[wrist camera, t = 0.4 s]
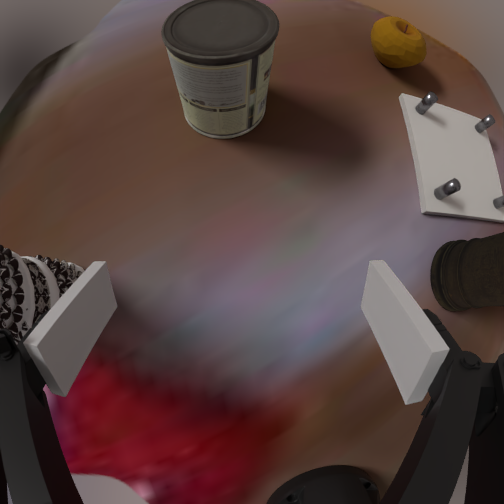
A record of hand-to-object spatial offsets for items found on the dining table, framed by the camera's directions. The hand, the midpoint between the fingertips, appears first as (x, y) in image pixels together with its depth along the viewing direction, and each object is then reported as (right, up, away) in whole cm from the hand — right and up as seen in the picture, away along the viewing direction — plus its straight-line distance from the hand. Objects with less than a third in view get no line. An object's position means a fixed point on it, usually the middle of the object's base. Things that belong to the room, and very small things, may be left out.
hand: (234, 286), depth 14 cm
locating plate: (+31, +15, +21) cm, 40 cm away
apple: (+22, +32, +23) cm, 45 cm away
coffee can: (-3, +20, +20) cm, 28 cm away
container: (+27, -1, +18) cm, 33 cm away
